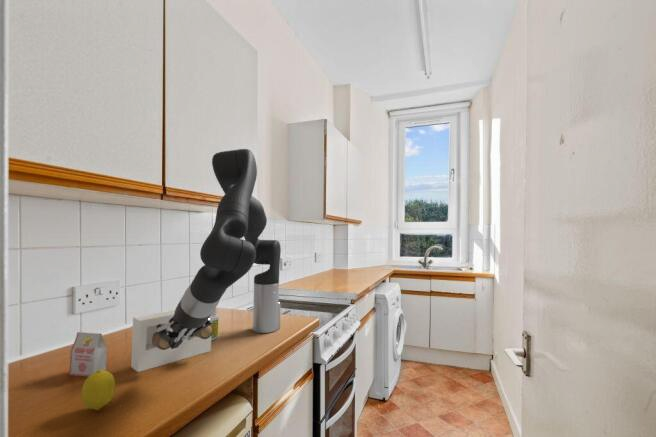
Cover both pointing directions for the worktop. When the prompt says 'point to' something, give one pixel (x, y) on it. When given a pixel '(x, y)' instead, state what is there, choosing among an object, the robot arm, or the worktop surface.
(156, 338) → the knob
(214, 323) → the supplement bottle
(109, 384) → the lemon
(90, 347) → the white milk carton
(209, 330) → the knob
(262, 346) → the worktop surface
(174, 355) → the panel
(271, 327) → the robot arm
